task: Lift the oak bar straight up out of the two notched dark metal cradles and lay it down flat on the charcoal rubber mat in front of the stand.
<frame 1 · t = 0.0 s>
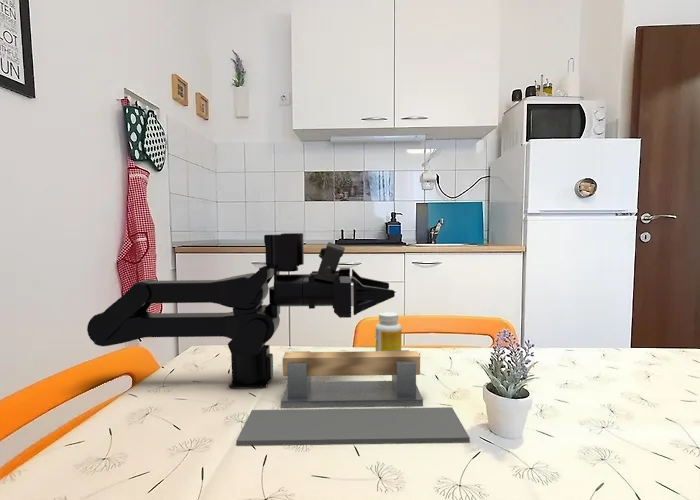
hand: (391, 289, 75), 17 cm above the table, tool horizontal, fingers open, 9 cm apart
supplement bottle: (388, 360, 88), on the table
rubber mat: (352, 426, 58), on the table
cradle stand: (351, 396, 69), on the table
oak bar: (351, 372, 69), point 4 cm above the table, touching cradle stand
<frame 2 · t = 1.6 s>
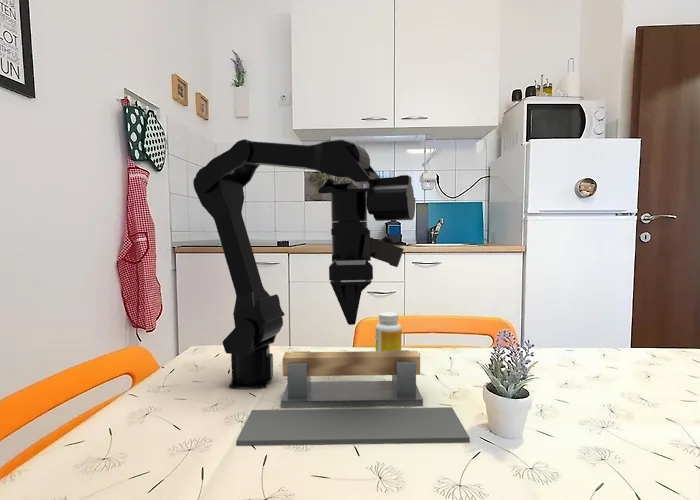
hand: (351, 318, 68), 13 cm above the table, tool pointing down, fingers open, 9 cm apart
nothing on the table moved.
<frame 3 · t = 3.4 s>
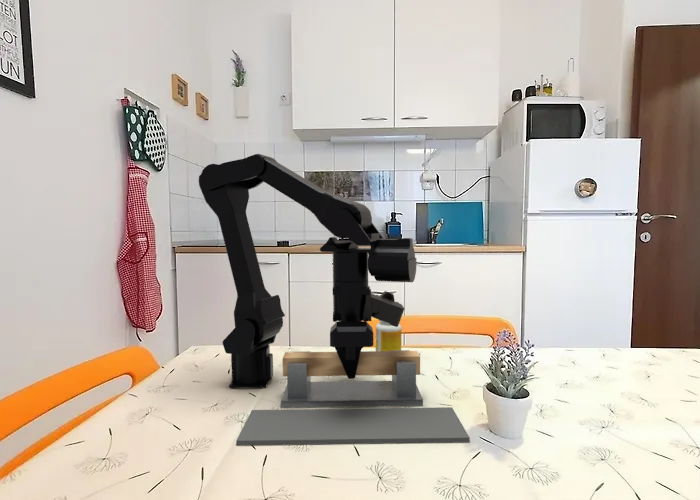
hand: (351, 374, 69), 4 cm above the table, tool pointing down, fingers closed on oak bar, 3 cm apart
oak bar: (351, 372, 69), point 4 cm above the table, touching cradle stand, gripper
everything else where it was.
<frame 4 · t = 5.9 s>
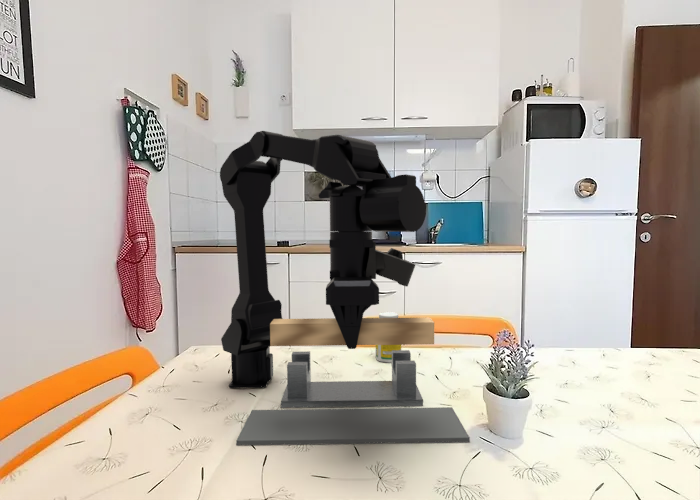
hand: (351, 345, 58), 12 cm above the table, tool pointing down, fingers closed on oak bar, 3 cm apart
oak bar: (352, 342, 58), point 12 cm above the table, touching gripper
everything else where it was.
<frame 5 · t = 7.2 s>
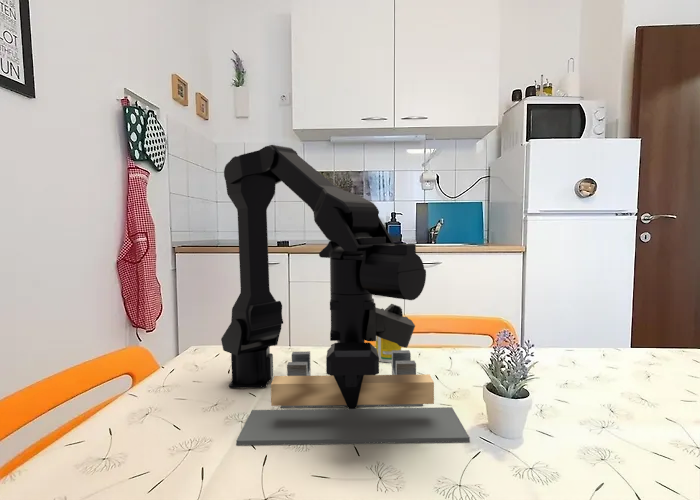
hand: (352, 403, 58), 3 cm above the table, tool pointing down, fingers closed on oak bar, 3 cm apart
oak bar: (352, 400, 58), point 4 cm above the table, touching gripper
everything else where it was.
when the fingers open (2 cm above the table, at t = 8.2 s): oak bar drops 2 cm, resting on rubber mat.
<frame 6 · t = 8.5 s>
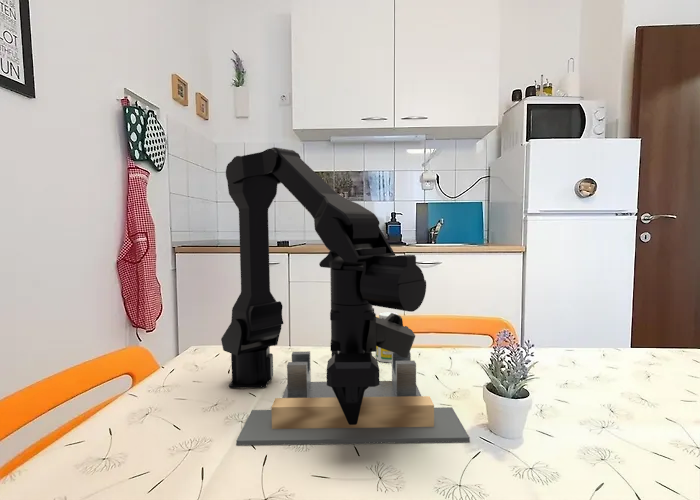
hand: (352, 412, 58), 2 cm above the table, tool pointing down, fingers open, 6 cm apart
oak bar: (352, 422, 58), point 1 cm above the table, touching rubber mat
everything else where it was.
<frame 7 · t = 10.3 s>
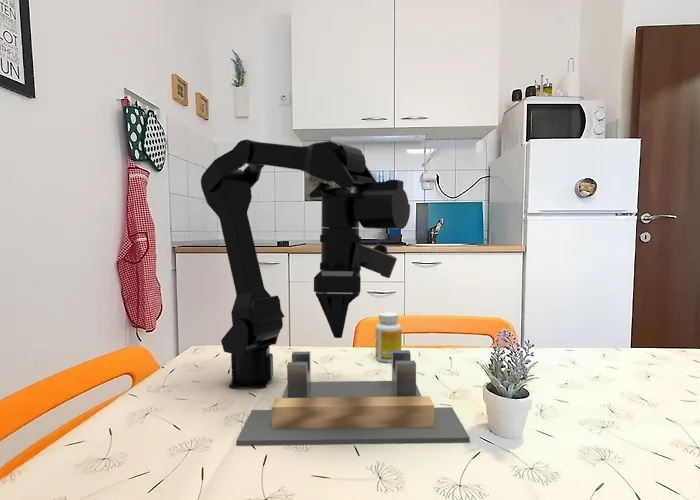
hand: (339, 329, 65), 12 cm above the table, tool pointing down, fingers open, 9 cm apart
nothing on the table moved.
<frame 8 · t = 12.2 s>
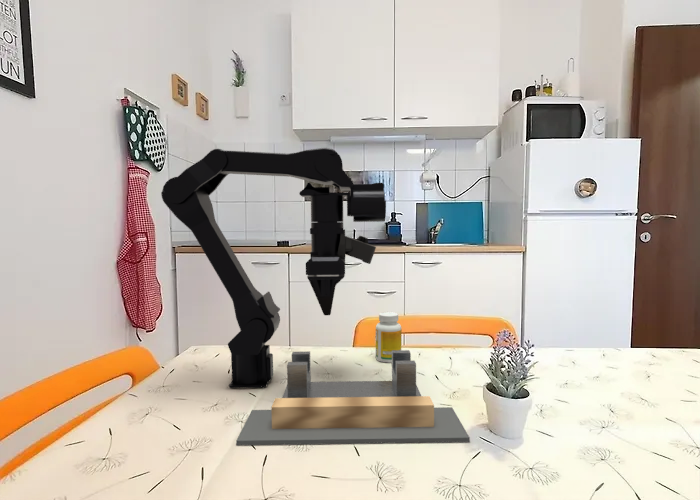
hand: (328, 309, 75), 13 cm above the table, tool pointing down, fingers open, 9 cm apart
nothing on the table moved.
at the end: oak bar inside the target area on the rubber mat (0.0 cm from its centre), point 0.6 cm above the rubber mat's base; oak bar touching rubber mat; the gripper is holding nothing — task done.
